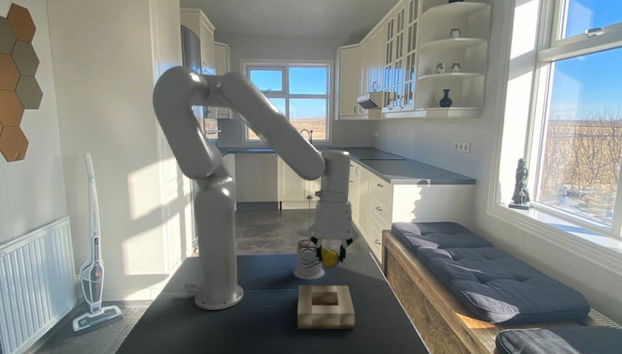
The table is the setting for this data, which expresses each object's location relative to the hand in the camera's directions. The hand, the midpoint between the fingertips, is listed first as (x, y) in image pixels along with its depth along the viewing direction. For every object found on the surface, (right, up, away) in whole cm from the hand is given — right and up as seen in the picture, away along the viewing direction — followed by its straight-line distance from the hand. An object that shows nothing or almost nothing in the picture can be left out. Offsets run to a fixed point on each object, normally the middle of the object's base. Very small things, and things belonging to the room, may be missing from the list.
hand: (330, 259), depth 92 cm
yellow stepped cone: (0, -3, 0) cm, 3 cm away
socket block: (-2, -11, -9) cm, 14 cm away
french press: (-5, -7, +13) cm, 16 cm away
